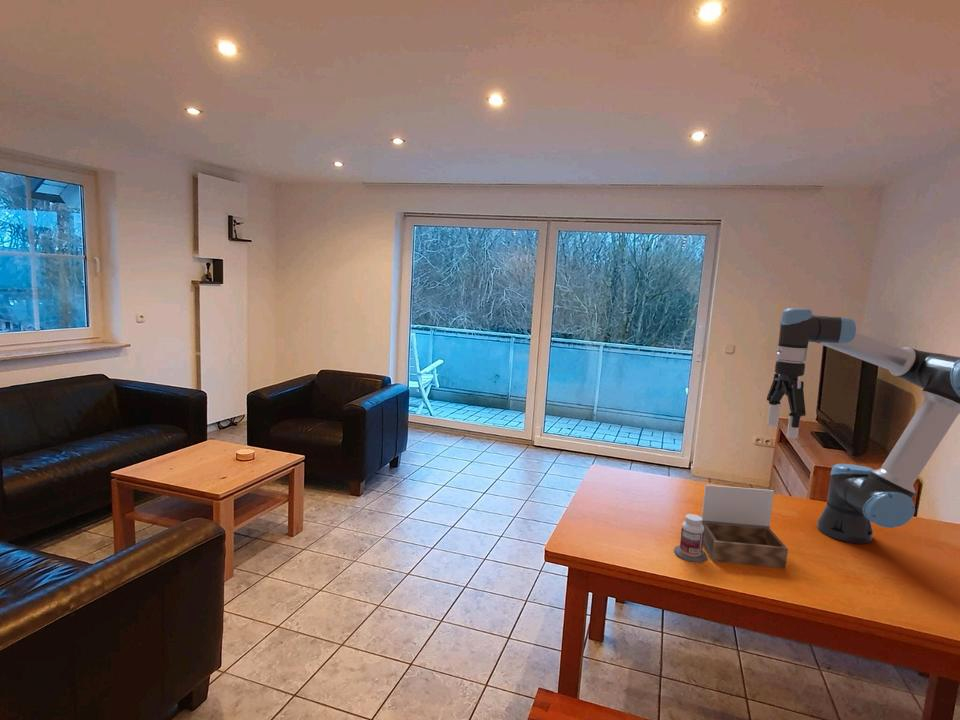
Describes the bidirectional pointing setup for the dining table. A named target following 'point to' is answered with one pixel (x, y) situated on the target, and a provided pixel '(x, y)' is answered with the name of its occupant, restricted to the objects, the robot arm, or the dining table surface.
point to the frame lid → (737, 506)
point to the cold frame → (744, 545)
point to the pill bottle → (692, 536)
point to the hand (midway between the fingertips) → (781, 431)
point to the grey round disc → (689, 558)
